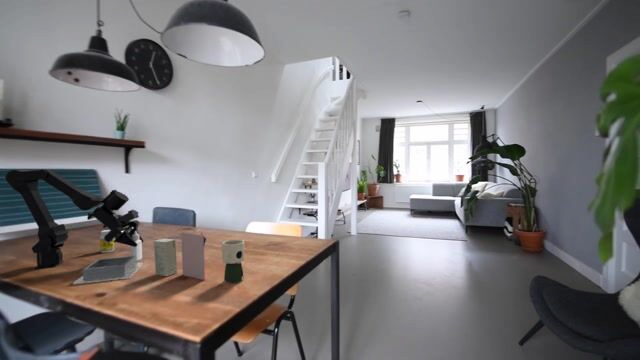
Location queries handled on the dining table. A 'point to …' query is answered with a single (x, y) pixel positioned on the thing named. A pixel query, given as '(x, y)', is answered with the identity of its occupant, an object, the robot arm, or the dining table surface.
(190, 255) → the greeting card
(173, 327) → the dining table surface
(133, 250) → the eye dropper bottle
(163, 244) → the skincare box
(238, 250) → the character mug
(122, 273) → the flat grey tray
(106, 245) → the supplement bottle
